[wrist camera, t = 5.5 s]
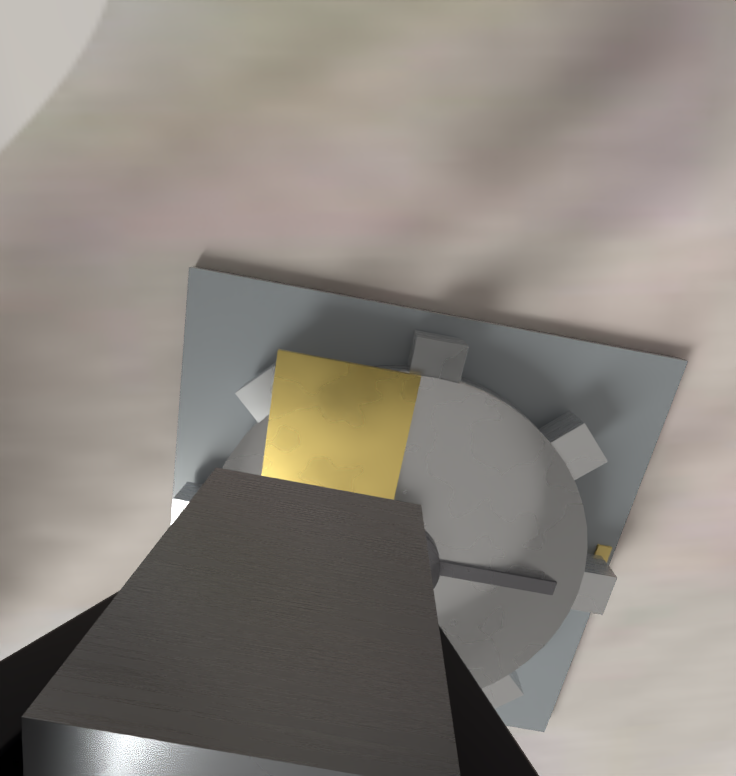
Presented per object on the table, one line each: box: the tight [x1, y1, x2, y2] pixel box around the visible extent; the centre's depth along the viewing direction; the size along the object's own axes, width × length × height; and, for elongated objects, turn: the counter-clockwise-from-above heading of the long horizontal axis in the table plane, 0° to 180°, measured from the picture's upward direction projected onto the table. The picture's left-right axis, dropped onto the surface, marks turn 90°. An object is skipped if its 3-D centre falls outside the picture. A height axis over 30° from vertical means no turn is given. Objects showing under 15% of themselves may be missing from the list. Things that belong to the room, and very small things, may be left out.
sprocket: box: [171, 330, 617, 708], centre depth 15 cm, size 18×18×10 cm
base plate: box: [171, 267, 688, 732], centre depth 20 cm, size 19×19×1 cm
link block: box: [21, 467, 460, 776], centre depth 7 cm, size 4×4×5 cm
